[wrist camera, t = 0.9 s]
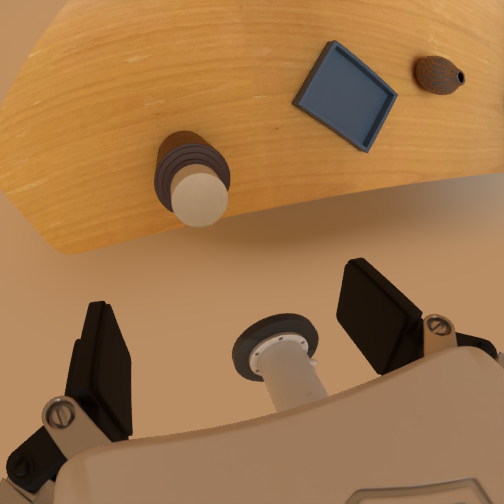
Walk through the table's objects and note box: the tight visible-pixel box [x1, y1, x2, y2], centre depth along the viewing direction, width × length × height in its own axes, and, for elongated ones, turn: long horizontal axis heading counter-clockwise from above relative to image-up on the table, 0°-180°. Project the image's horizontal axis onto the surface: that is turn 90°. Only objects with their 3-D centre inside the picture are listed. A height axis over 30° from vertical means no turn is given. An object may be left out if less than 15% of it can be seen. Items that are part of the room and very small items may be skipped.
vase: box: [415, 56, 465, 95], centre depth 33 cm, size 7×7×9 cm
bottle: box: [154, 131, 230, 213], centre depth 27 cm, size 6×6×18 cm
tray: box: [292, 40, 398, 153], centre depth 35 cm, size 13×11×2 cm
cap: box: [170, 164, 228, 227], centre depth 20 cm, size 4×4×3 cm
